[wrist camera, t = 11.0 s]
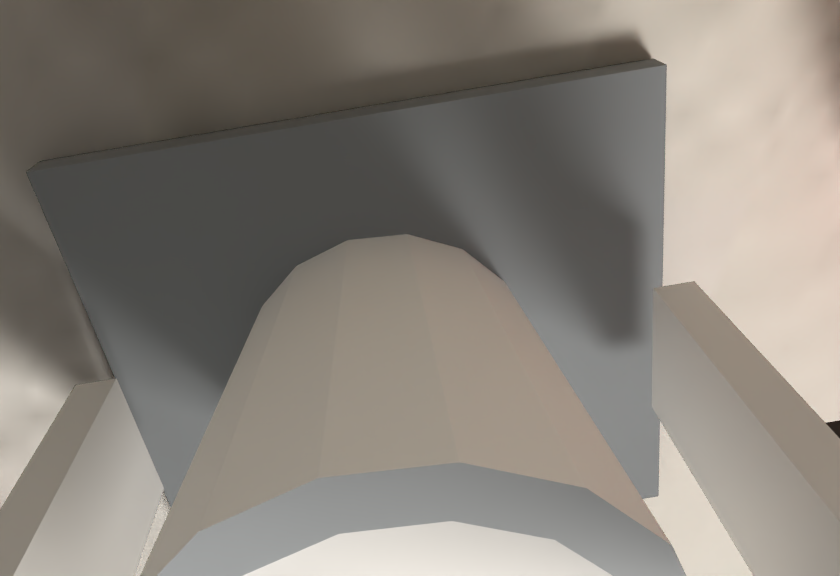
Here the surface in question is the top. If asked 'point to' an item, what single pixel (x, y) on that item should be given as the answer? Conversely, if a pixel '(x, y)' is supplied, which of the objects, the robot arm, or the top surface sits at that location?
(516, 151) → the slate mat
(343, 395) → the white cup
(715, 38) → the top surface
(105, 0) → the top surface
